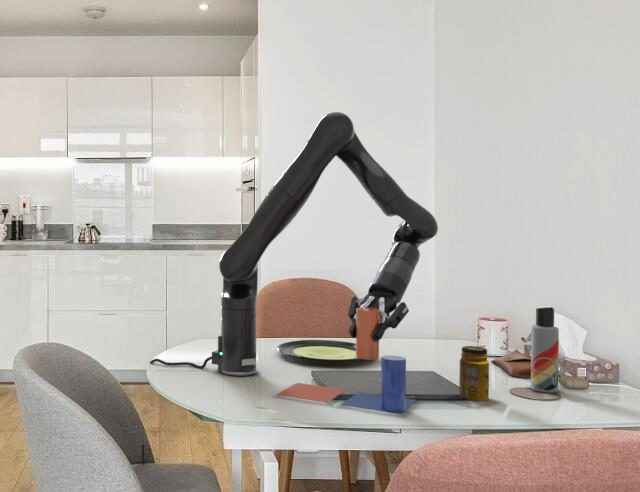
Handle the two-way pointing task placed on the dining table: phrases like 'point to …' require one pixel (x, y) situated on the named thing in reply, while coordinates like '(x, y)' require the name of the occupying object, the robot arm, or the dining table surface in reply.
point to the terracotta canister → (366, 333)
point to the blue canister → (393, 383)
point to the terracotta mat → (311, 392)
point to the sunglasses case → (515, 364)
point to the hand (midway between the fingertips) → (363, 337)
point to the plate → (320, 350)
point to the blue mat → (371, 402)
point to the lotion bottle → (544, 352)
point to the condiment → (474, 374)
